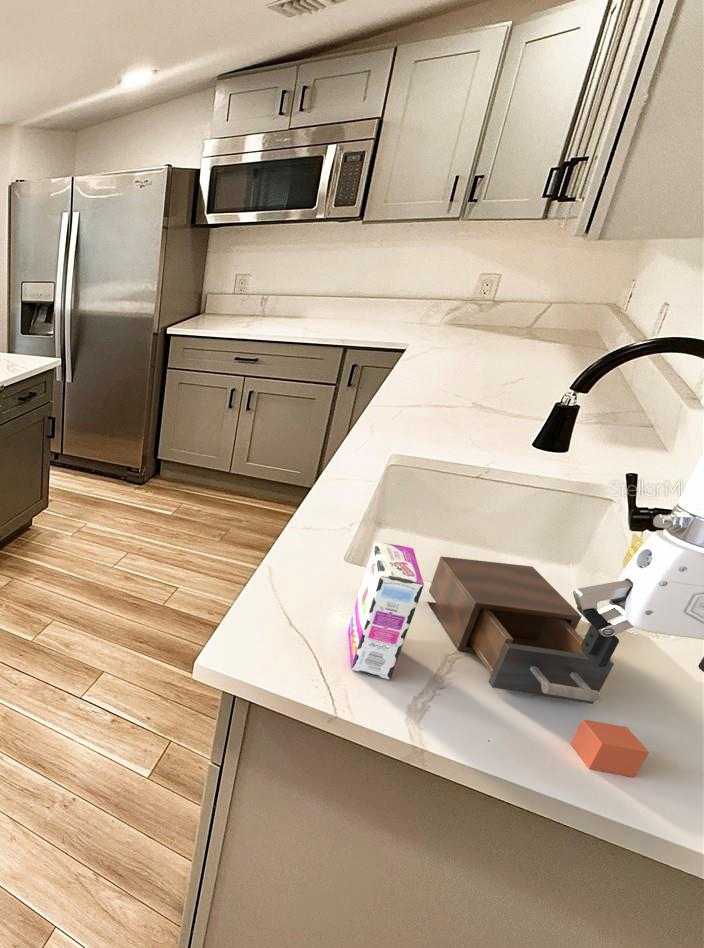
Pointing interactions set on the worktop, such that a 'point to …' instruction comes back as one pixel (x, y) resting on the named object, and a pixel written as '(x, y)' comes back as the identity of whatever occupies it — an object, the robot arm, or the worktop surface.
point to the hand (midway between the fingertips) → (650, 668)
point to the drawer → (536, 656)
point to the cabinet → (491, 595)
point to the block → (609, 748)
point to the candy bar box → (384, 609)
